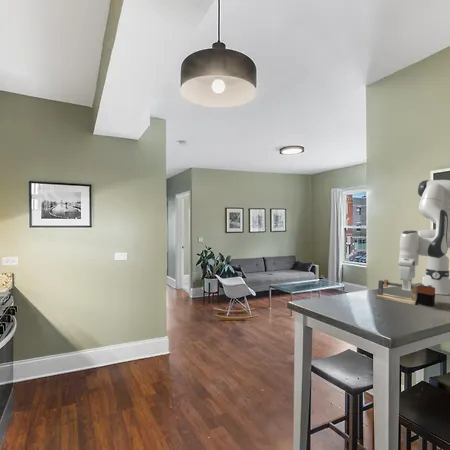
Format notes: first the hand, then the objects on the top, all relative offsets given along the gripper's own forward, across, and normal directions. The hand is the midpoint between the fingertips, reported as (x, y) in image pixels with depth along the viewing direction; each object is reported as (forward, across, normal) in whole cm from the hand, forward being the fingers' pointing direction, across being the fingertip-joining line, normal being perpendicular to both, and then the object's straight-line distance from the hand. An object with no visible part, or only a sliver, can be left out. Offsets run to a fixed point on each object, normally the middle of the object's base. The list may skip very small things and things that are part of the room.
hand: (407, 287), depth 160 cm
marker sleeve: (+1, 0, 0) cm, 1 cm away
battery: (+8, -1, +8) cm, 11 cm away
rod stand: (+7, 0, -5) cm, 9 cm away
